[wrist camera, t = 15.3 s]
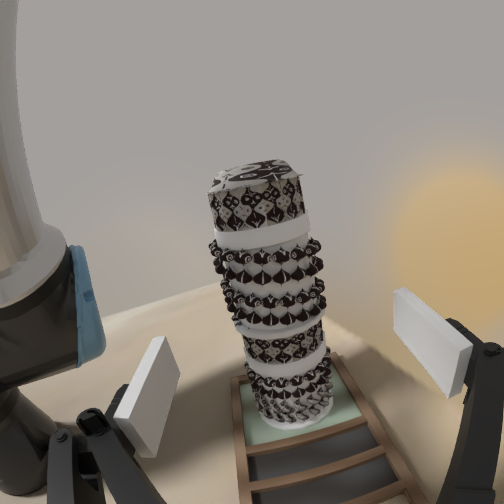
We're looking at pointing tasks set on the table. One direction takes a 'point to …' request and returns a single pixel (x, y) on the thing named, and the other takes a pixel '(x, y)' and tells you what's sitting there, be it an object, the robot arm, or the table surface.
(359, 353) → the table surface
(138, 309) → the table surface
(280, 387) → the decorative candle
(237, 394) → the brown flat rectangular frame
